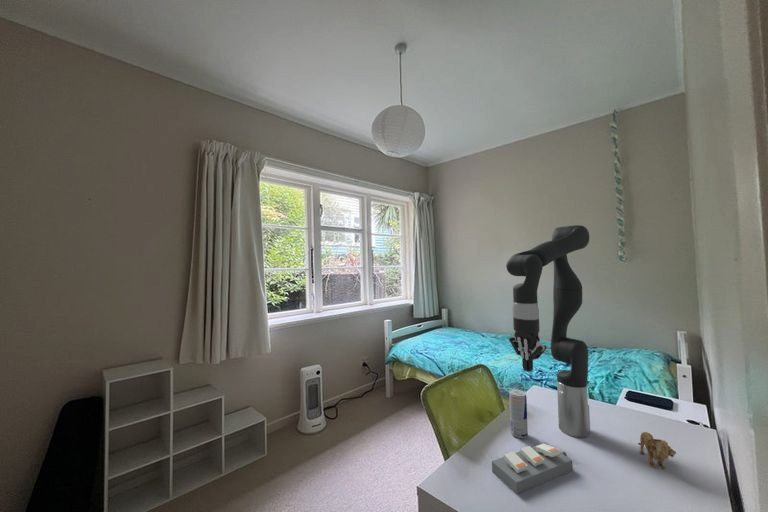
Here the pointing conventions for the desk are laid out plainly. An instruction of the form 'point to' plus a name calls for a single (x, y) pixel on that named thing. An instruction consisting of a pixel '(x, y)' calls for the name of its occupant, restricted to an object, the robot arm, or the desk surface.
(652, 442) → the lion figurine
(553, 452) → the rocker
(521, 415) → the beverage can
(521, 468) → the block
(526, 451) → the rocker middle
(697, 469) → the desk surface
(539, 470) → the rocker switch panel
